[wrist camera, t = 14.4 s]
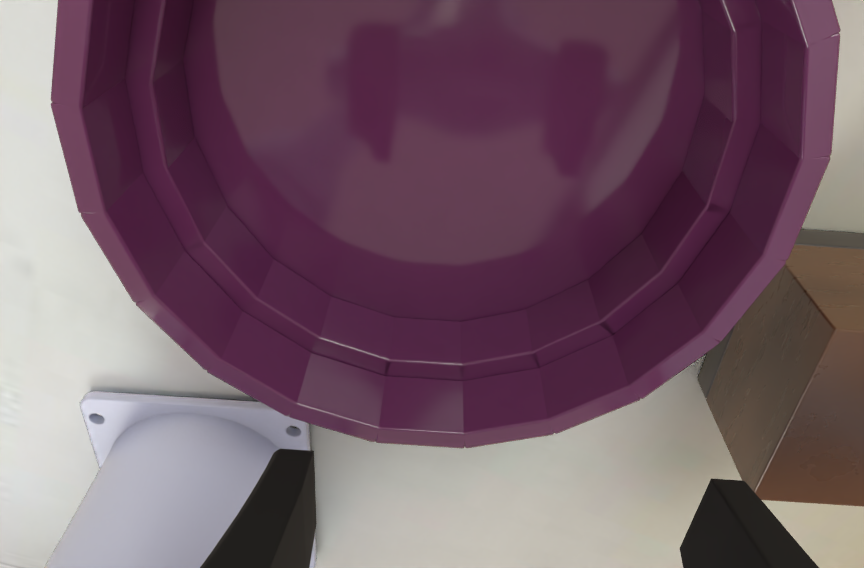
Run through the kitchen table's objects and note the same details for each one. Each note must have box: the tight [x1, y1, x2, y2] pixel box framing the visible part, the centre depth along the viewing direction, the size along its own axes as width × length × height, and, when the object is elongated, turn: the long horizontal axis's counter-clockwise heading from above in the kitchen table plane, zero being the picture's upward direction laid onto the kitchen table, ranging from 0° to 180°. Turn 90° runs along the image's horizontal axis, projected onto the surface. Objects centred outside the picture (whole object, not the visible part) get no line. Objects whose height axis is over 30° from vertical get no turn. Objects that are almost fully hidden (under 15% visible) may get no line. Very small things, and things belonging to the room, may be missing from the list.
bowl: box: [51, 0, 840, 448], centre depth 16 cm, size 15×15×5 cm
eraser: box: [698, 229, 864, 506], centre depth 19 cm, size 6×4×5 cm
